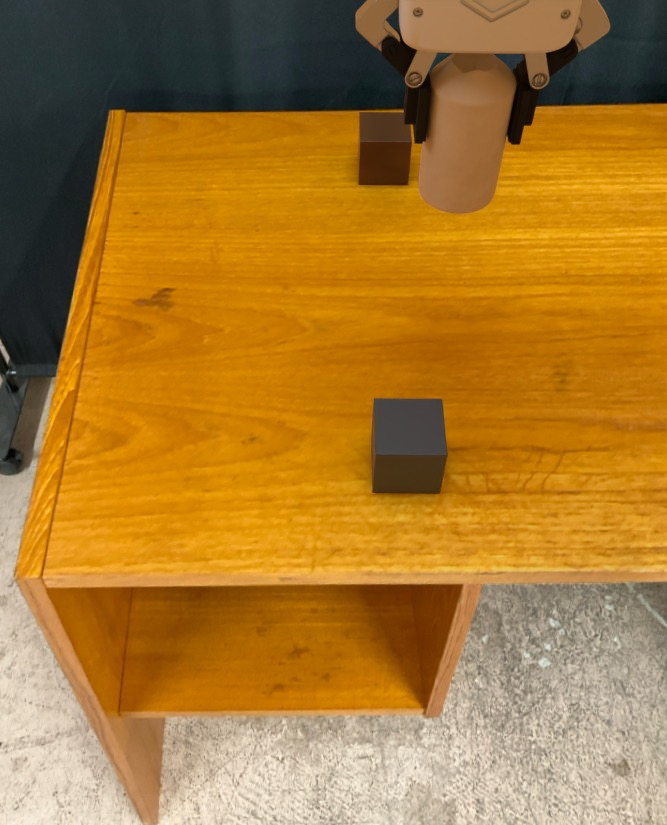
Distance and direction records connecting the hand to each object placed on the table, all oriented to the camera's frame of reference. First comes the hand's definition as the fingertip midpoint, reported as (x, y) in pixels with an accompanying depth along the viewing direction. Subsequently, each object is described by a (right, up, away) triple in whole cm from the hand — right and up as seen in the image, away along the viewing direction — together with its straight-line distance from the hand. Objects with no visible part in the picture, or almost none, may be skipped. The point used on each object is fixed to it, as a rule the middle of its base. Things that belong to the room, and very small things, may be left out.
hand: (465, 129), depth 55 cm
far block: (-4, +6, +29) cm, 30 cm away
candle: (0, -3, +4) cm, 5 cm away
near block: (-3, -23, +7) cm, 24 cm away
